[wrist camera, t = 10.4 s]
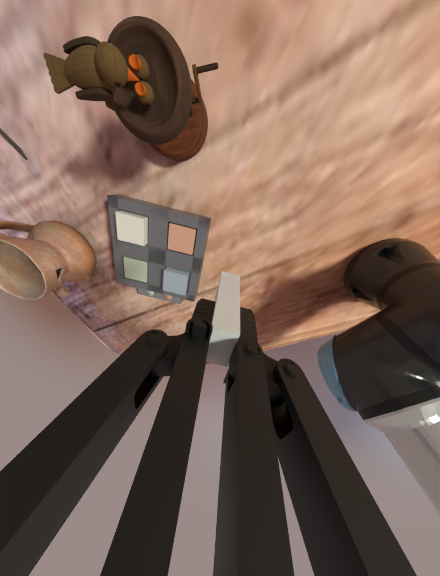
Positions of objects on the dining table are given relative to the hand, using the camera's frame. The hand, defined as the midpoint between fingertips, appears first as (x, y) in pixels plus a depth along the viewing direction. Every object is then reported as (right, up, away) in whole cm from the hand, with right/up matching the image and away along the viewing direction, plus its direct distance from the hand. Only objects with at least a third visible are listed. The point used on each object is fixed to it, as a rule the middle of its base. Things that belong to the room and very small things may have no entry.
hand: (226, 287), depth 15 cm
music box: (-7, +28, +15) cm, 33 cm away
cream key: (-18, +13, +22) cm, 31 cm away
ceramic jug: (-38, +10, +29) cm, 49 cm away
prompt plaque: (-17, -1, +34) cm, 38 cm away
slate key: (-11, +2, +28) cm, 30 cm away
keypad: (-14, +9, +27) cm, 32 cm away
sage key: (-20, +5, +28) cm, 35 cm away
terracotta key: (-8, +11, +24) cm, 28 cm away
